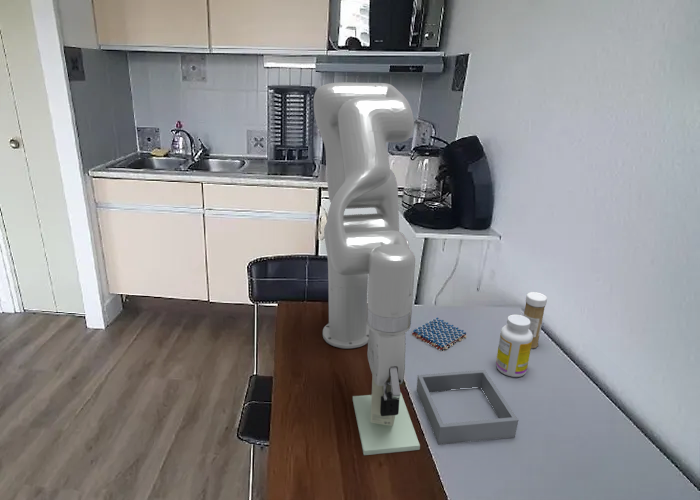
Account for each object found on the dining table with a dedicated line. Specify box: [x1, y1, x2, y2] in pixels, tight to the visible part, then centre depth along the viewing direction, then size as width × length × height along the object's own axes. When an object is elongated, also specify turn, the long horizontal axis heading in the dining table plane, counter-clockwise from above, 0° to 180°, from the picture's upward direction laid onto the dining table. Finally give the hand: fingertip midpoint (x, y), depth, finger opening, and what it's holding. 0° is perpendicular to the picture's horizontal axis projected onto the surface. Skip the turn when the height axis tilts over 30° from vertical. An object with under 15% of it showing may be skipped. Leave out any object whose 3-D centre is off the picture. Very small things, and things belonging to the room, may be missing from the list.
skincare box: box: [371, 373, 395, 426], centre depth 81 cm, size 6×4×12 cm
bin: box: [416, 369, 519, 445], centre depth 86 cm, size 15×15×4 cm
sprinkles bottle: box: [523, 291, 548, 349], centre depth 106 cm, size 5×5×14 cm
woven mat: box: [411, 317, 467, 351], centre depth 112 cm, size 10×11×2 cm
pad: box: [352, 391, 421, 456], centre depth 83 cm, size 14×10×1 cm
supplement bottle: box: [495, 314, 533, 378], centre depth 97 cm, size 7×7×13 cm
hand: (384, 398), depth 82 cm, fingers closed on skincare box, 7 cm apart
